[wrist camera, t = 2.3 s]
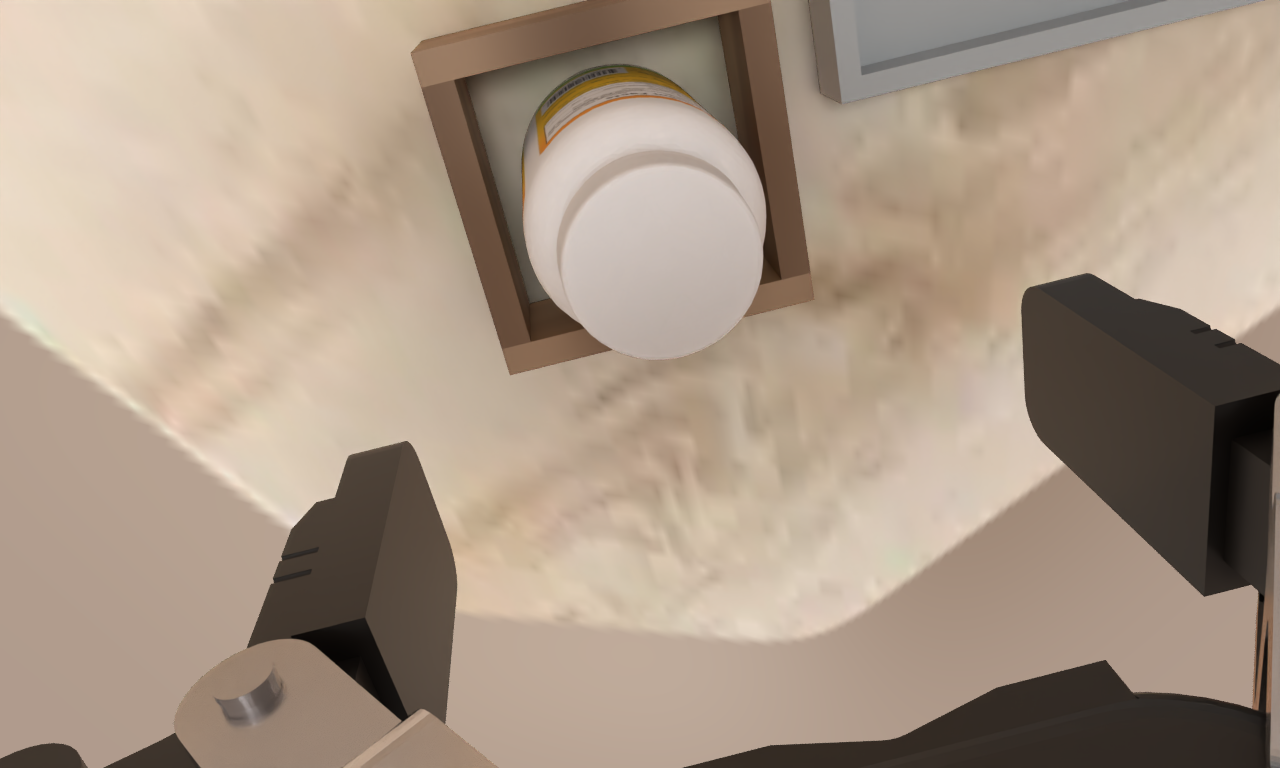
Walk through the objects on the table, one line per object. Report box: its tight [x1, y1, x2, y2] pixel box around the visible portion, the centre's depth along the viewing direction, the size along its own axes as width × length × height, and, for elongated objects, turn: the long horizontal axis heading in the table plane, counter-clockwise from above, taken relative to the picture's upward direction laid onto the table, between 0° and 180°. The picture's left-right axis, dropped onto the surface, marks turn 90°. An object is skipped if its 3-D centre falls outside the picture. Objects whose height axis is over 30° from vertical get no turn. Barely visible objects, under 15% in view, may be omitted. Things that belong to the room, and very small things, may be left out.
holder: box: [411, 0, 814, 375], centre depth 26 cm, size 9×9×3 cm
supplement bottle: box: [522, 64, 766, 360], centre depth 23 cm, size 5×5×10 cm
